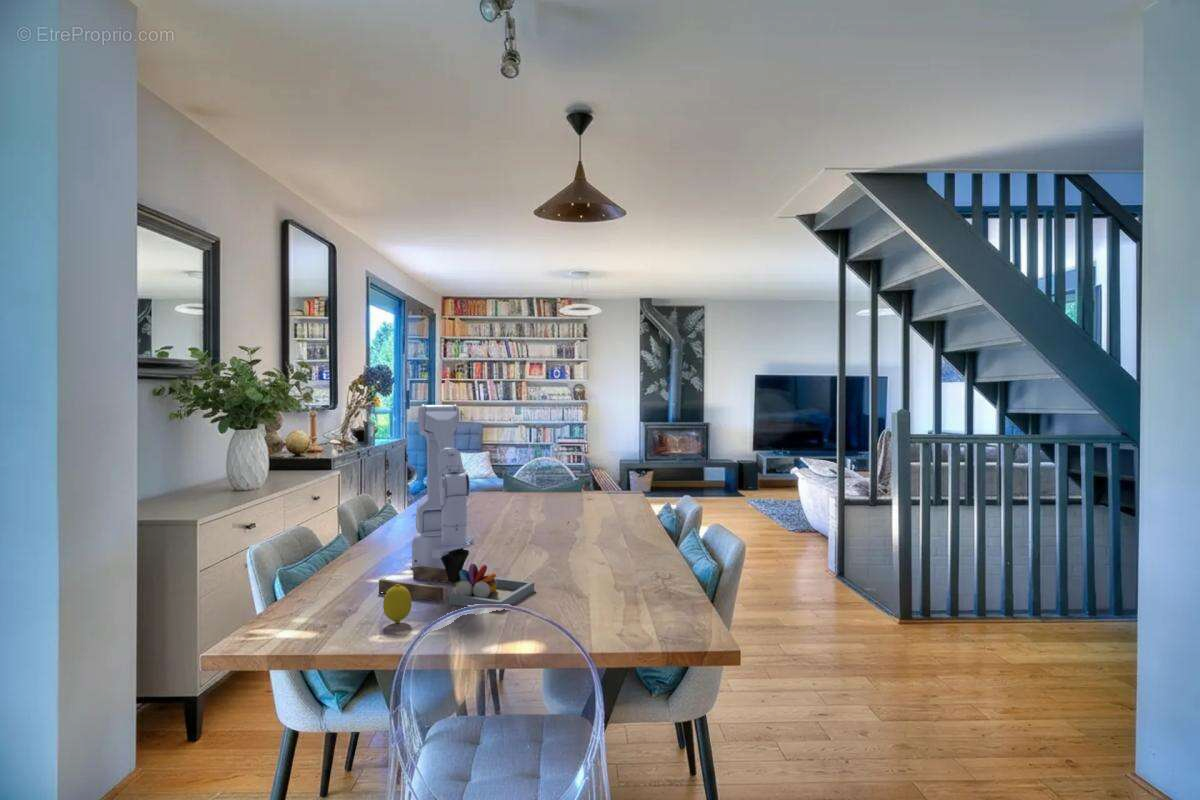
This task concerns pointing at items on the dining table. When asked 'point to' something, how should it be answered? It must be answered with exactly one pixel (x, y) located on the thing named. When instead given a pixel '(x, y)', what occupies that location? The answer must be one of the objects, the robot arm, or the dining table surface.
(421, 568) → the lane rails
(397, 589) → the lemon
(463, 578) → the multicolored rounded disc cluster
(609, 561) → the dining table surface
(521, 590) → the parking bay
